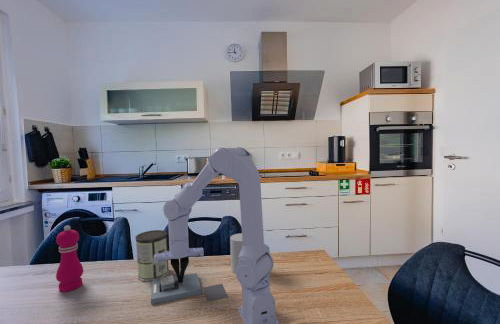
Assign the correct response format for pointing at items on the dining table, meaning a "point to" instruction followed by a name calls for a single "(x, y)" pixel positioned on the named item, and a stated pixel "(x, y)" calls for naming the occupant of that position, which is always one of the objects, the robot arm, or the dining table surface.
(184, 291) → the board
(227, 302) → the dining table surface
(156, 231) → the coffee can
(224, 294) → the pad
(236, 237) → the cup
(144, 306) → the dining table surface
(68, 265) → the pepper mill
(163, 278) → the clip
